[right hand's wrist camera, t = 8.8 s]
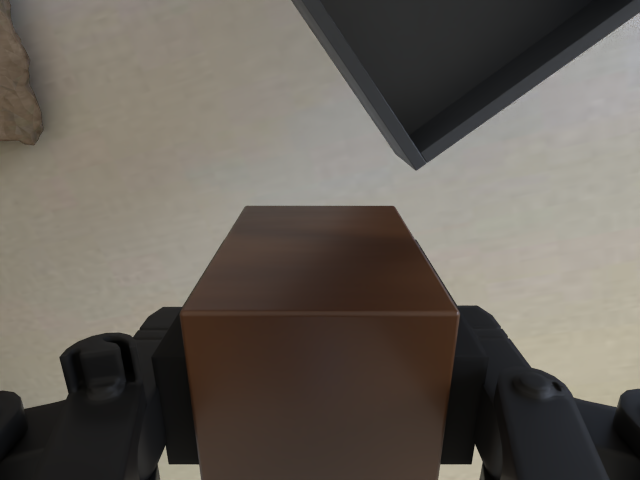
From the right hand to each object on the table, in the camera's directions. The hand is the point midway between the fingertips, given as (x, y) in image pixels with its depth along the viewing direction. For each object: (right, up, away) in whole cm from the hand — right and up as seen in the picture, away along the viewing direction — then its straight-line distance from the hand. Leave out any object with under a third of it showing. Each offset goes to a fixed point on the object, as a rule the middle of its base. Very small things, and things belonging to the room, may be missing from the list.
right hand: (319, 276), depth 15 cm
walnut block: (0, 0, 0) cm, 0 cm away
